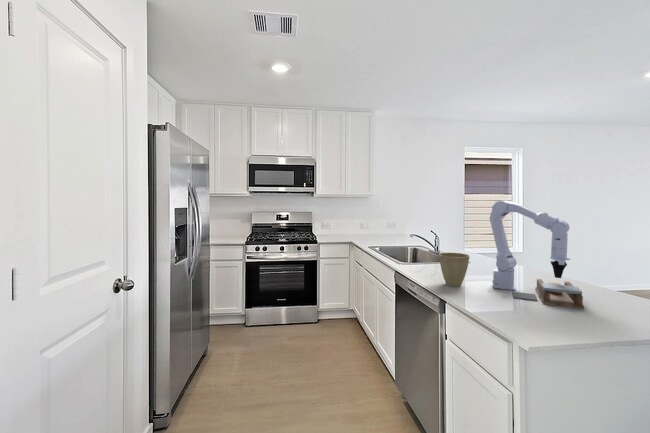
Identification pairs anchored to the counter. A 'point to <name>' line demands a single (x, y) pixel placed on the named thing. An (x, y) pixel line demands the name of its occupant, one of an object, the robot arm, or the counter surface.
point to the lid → (561, 288)
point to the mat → (524, 296)
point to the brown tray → (559, 297)
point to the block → (555, 292)
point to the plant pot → (454, 267)
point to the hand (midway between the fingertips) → (557, 277)
